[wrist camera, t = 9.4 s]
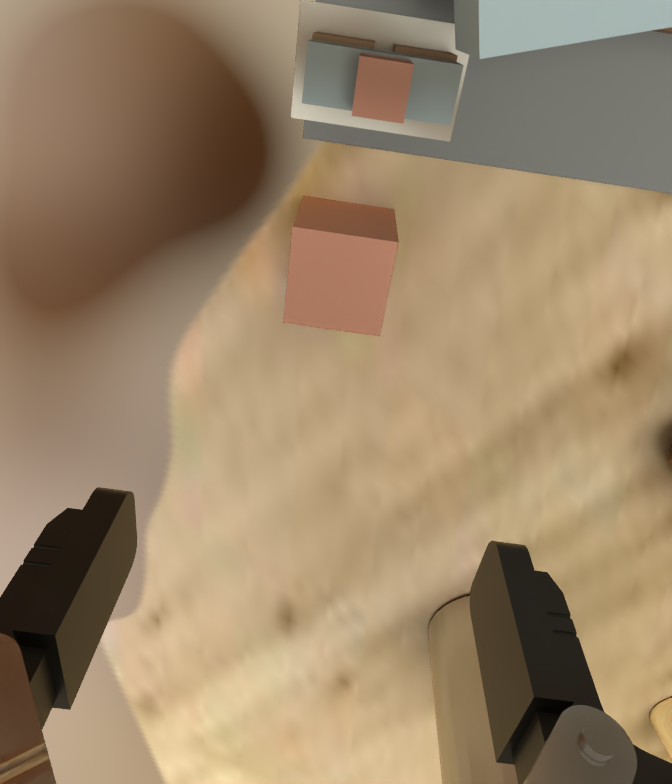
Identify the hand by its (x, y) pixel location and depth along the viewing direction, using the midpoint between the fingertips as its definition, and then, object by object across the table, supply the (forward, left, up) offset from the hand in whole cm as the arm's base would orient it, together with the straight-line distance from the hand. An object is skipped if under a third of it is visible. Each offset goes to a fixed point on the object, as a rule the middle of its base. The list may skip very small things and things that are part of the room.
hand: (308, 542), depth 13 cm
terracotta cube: (0, 0, -20) cm, 20 cm away
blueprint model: (+8, -1, -19) cm, 21 cm away
